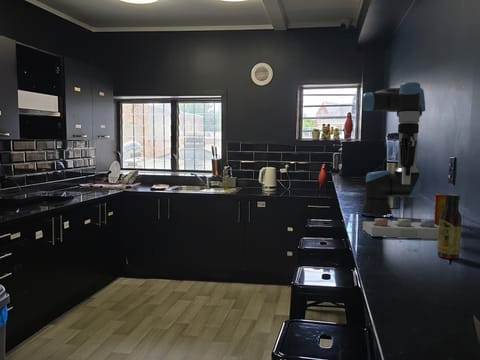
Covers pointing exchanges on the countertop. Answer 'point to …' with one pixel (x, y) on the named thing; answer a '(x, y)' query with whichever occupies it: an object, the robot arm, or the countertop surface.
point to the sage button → (404, 223)
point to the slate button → (427, 223)
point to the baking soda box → (438, 206)
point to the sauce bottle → (450, 228)
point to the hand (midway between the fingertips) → (405, 184)
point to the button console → (401, 230)
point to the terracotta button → (381, 222)
